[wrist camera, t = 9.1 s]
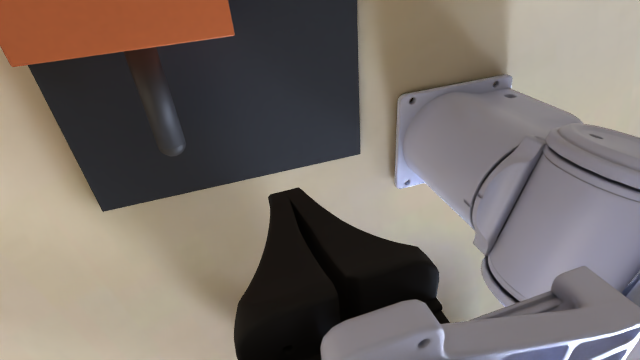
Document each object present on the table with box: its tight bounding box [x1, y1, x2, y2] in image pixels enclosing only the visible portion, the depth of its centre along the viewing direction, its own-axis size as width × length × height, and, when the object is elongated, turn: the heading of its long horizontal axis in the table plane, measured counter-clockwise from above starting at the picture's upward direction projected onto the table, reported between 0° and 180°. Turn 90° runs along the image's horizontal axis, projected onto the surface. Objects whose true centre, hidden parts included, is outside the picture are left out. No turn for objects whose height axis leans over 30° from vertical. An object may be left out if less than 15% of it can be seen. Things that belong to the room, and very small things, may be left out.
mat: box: [28, 0, 360, 212], centre depth 20 cm, size 18×22×1 cm
